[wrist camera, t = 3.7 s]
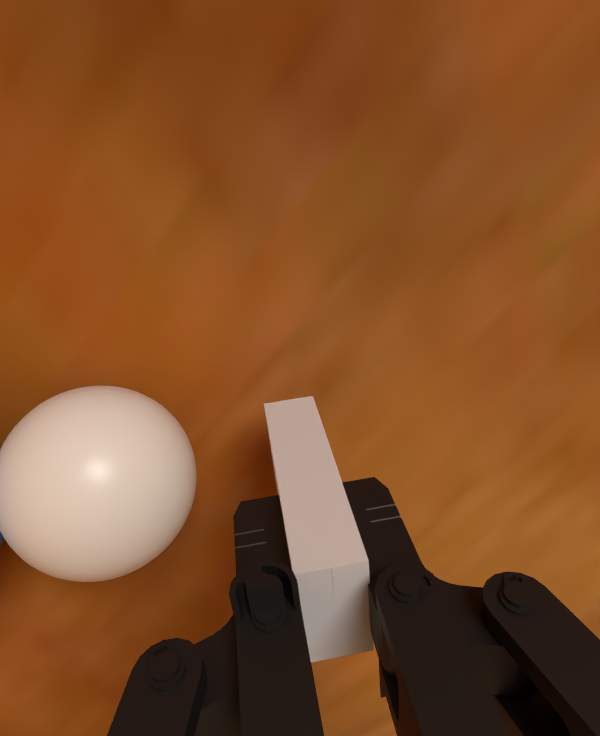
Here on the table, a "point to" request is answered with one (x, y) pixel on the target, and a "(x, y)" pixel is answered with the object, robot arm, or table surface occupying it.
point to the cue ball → (95, 483)
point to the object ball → (1, 539)
